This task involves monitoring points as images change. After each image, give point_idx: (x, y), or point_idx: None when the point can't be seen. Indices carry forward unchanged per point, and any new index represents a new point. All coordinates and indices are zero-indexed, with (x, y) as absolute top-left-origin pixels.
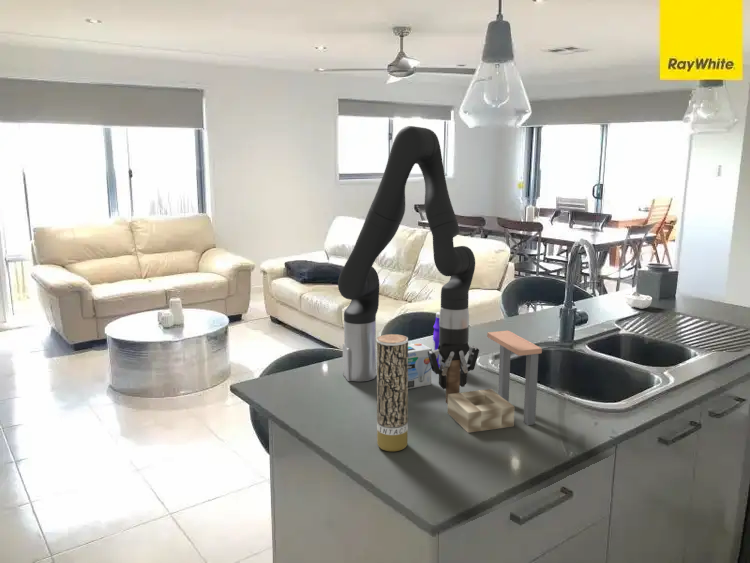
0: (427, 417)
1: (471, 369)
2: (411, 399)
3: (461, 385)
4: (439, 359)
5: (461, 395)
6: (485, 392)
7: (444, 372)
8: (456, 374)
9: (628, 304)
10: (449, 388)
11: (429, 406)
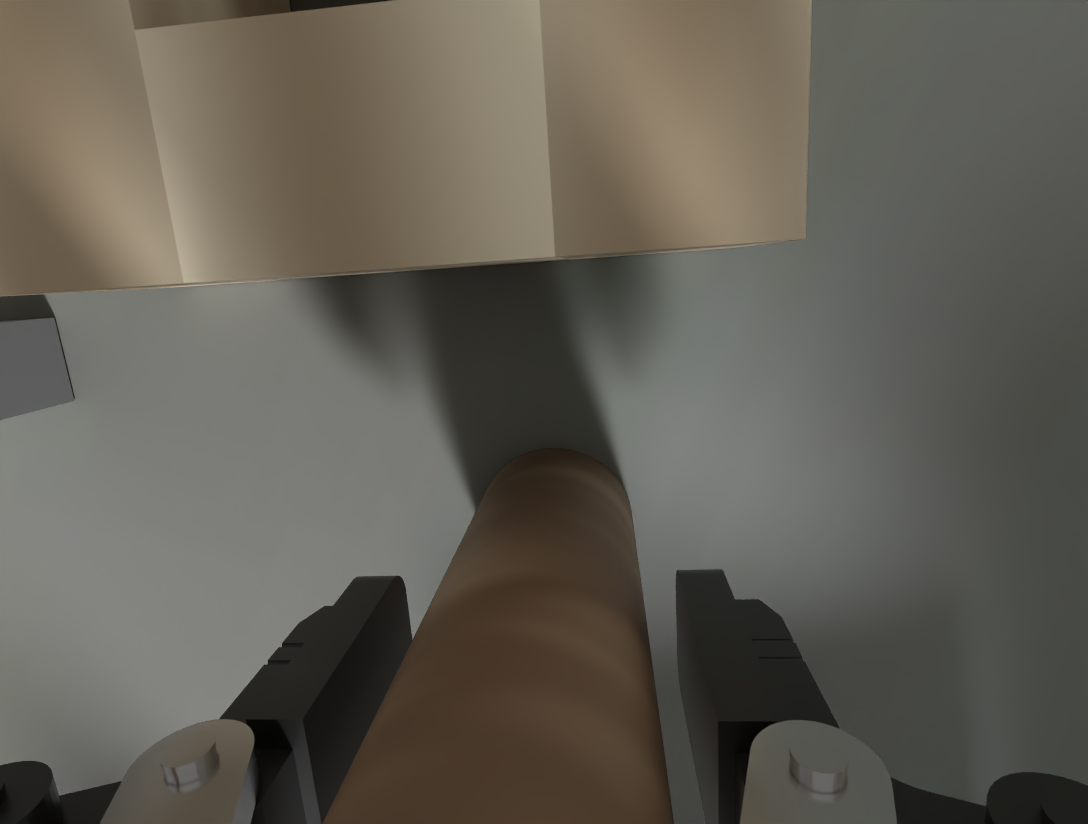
0: (1029, 175)
1: (24, 780)
2: (966, 705)
3: (401, 607)
4: None
5: (577, 111)
6: (103, 158)
7: (812, 793)
8: (476, 682)
9: None
10: (620, 563)
11: (854, 481)
